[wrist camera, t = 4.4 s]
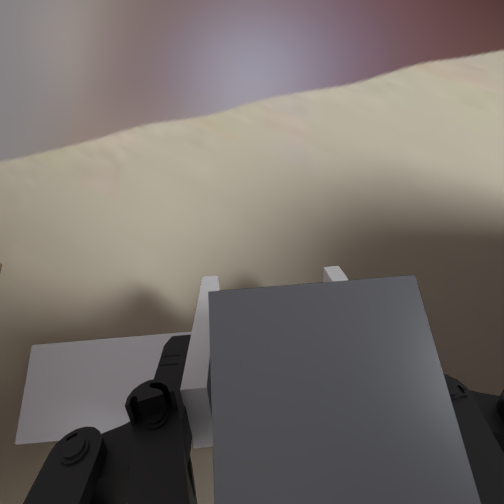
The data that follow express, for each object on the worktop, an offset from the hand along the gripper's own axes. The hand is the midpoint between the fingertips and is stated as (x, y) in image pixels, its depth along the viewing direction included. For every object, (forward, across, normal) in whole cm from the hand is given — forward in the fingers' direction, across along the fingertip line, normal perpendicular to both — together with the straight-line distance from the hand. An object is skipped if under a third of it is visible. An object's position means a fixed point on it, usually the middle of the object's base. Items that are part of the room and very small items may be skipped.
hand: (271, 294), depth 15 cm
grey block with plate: (0, +6, +5) cm, 8 cm away
